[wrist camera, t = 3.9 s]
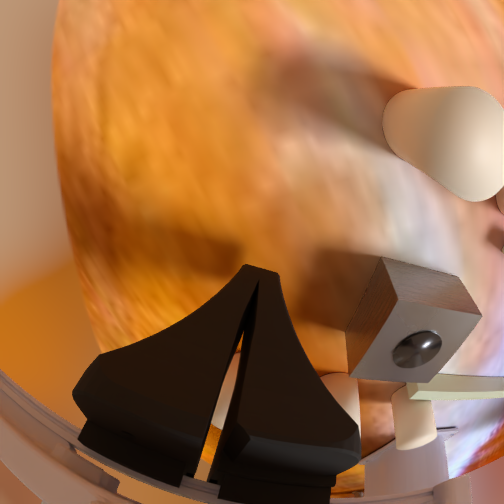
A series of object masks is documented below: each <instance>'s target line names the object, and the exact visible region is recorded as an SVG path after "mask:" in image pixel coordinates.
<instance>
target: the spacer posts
mask: <svg viewBox="0 0 504 504" xmlns="http://www.w3.org/2000/svg"><path fill="white" fill-rule="evenodd" d="M382 125H383V132H384V136H385V138H386V141H387V143H388V145H389V146H390V148H391V149H392V150H393V152H394V153H395V154H396V155H397V156H398V157H400V158H401V159H403V160H404V161H406V162H408V163H409V164H411V165H412V166H414V167H416V168H417V169H419V170H420V171H422V172H423V173H425V174H426V175H428V176H429V177H431V178H432V179H434V180H435V181H437V182H438V183H440V184H441V185H442V186H444V187H445V188H447V189H448V190H449V191H451V192H452V193H453V194H455V195H456V196H458V197H459V198H462V199H464V200H467V201H473V202H477V201H483V200H486V199H489V198H491V197H492V196H494V195H495V194H496V201H497V205H498V208H499V210H500V211H501V213H502V214H503V215H504V109H503V108H502V106H501V105H500V103H499V102H498V101H497V100H496V99H495V98H494V97H493V96H492V95H490V94H489V93H487V92H486V91H484V90H482V89H480V88H476V87H471V86H454V87H433V88H420V89H409V90H404V91H401V92H399V93H397V94H396V95H394V96H393V97H392V98H391V99H390V100H389V102H388V103H387V105H386V107H385V110H384V113H383V120H382ZM239 358H240V353H236V354H234V356H233V359H232V361H231V364H230V366H229V369H228V371H227V374H226V376H225V379H224V382H223V385H222V388H221V391H220V395H219V398H218V401H217V405H216V408H215V411H214V415H213V418H212V421H211V423H212V424H213V425H214V426H216V427H217V428H219V429H221V430H222V428H223V425H224V422H225V418H226V415H227V411H228V408H229V404H230V400H231V397H232V393H233V390H234V386H235V381H236V376H237V370H238V364H239ZM320 379H321V380H322V382H323V383H324V385H325V386H326V388H327V389H328V390H329V392H330V393H331V394H332V396H333V397H334V398H335V400H336V401H337V402H338V403H339V404H340V406H341V407H342V408H343V409H344V410H345V411H346V412H347V413H348V414H349V415H350V417H351V418H352V419H353V420H354V421H355V422H356V423H357V424H358V426H359V432H360V438H361V428H360V407H359V392H358V381H357V379H356V378H351V377H349V374H347V373H331V374H327V375H324V376H322V377H320ZM391 403H392V410H393V418H394V427H395V437H396V448H397V449H398V450H409V449H414V448H417V447H420V446H423V445H425V444H427V443H429V442H431V441H433V440H434V439H435V438H436V437H437V429H436V424H435V419H434V414H433V409H432V404H431V400H417V399H409V395H408V390H407V385H406V386H404V387H402V388H400V389H398V390H397V391H396V392H394V393H393V395H392V396H391Z"/></svg>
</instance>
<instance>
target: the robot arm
mask: <svg viewBox="0 0 504 504" xmlns="http://www.w3.org/2000/svg"><path fill="white" fill-rule="evenodd" d="M243 331H244V334H243ZM242 334H243V340H242V346H241V352H240V358H239V364H238V370H237V376H236V381H235V386H234V390H233V393H232V397H231V400H230V404H229V408H228V411H227V415H226V418H225V422H224V425H223V428H222V432H221V435H220V439H219V442H218V445H217V449H216V452H215V455H214V459H213V462H212V465H211V469H210V472H209V475H208V478H207V482H205V481H201V480H198V479H194V475H195V473H196V470H197V467H198V464H199V461H200V457H201V454H202V451H203V448H204V444H205V441H206V438H207V434H208V431H209V428H210V424H211V421H212V418H213V415H214V411H215V408H216V405H217V401H218V398H219V395H220V391H221V388H222V385H223V382H224V379H225V376H226V374H227V371H228V369H229V366H230V364H231V361H232V359H233V356H234V354H235V351H236V349H237V346H238V344H239V342H240V339H241V336H242ZM72 396H73V399H74V401H75V402H76V404H77V406H78V407H79V408H80V410H81V411H82V412H83V414H84V415H85V417H86V418H87V421H86V423H85V425H84V427H83V429H82V430H81V429H80V428H78V427H76V426H75V425H73V424H71V423H70V422H68V421H67V420H65V419H64V418H62V417H60V416H59V415H57V414H56V413H54V412H53V411H52V410H50V409H49V408H47V407H46V406H45V405H43V404H42V403H40V402H39V401H38V400H36V399H35V398H34V397H33V396H31V395H30V394H29V393H27V392H26V391H25V390H24V389H22V388H21V387H20V386H19V385H18V384H16V383H15V382H14V381H13V380H12V379H11V378H10V377H8V376H7V375H6V374H5V373H4V372H3V371H2V370H1V369H0V460H1V461H2V462H3V463H4V464H5V465H6V467H8V469H9V470H10V471H11V472H12V473H13V474H14V475H15V476H16V477H17V478H18V479H19V480H20V481H21V482H22V483H24V484H25V485H26V486H27V487H28V488H29V489H30V490H31V491H32V492H33V493H34V494H36V495H37V496H38V497H39V498H40V499H41V500H42V503H41V504H141V503H139V502H137V501H134V500H132V499H129V498H127V497H125V496H123V495H121V494H118V493H117V488H118V486H119V483H120V482H119V480H118V479H116V478H114V477H113V476H111V475H109V474H107V473H106V472H105V471H104V470H103V469H101V468H99V467H98V466H96V465H94V464H93V463H91V462H89V461H87V460H86V459H84V458H83V457H81V456H79V455H78V454H77V452H76V450H75V448H76V449H78V450H79V451H81V452H83V453H84V454H86V455H88V456H89V457H91V458H93V459H95V460H97V461H99V462H100V463H102V464H104V465H106V466H108V467H110V468H112V469H115V470H116V471H119V472H121V473H123V474H125V475H127V476H129V477H131V478H134V479H136V480H138V481H141V482H143V483H146V484H148V485H151V486H153V487H156V488H159V489H162V490H164V491H167V492H170V493H173V494H176V495H179V496H183V497H186V498H189V499H193V500H196V501H200V502H204V503H208V504H472V493H471V482H470V475H469V474H466V475H463V476H459V477H456V478H452V479H449V474H448V465H447V457H446V450H445V443H444V441H445V440H447V439H449V438H450V437H452V436H453V435H454V434H456V433H457V432H458V431H459V429H458V428H451V429H440V430H437V437H436V438H435V439H434V440H433V441H431V442H429V443H427V444H425V445H423V446H420V447H417V448H414V449H409V450H398V449H397V448H396V439H395V440H393V441H392V442H390V443H389V444H387V445H386V446H384V447H382V448H381V449H379V450H377V451H376V452H374V453H372V454H370V455H369V456H367V457H365V458H363V459H361V438H360V432H359V426H358V424H357V423H356V422H355V421H354V420H353V419H352V418H351V417H350V415H349V414H348V413H347V412H346V411H345V410H344V409H343V408H342V407H341V406H340V404H339V403H338V402H337V401H336V400H335V398H334V397H333V396H332V394H331V393H330V392H329V390H328V389H327V388H326V386H325V385H324V383H323V382H322V380H321V379H320V377H319V376H318V374H317V372H316V371H315V369H314V368H313V366H312V364H311V363H310V361H309V359H308V357H307V355H306V354H305V352H304V350H303V348H302V346H301V344H300V341H299V339H298V337H297V335H296V332H295V330H294V327H293V325H292V322H291V319H290V316H289V313H288V310H287V307H286V304H285V300H284V297H283V293H282V288H281V283H280V276H279V274H278V273H277V272H273V271H269V270H266V269H262V268H259V267H255V266H251V265H248V264H245V265H243V266H242V267H241V269H240V270H239V271H238V273H237V274H236V275H235V276H234V277H233V278H232V279H231V280H230V282H229V283H228V284H226V285H225V286H224V287H223V288H222V289H221V290H220V291H219V292H218V293H217V294H216V295H215V296H213V297H212V298H211V299H210V300H209V301H207V302H206V303H205V304H204V305H202V306H201V307H200V308H198V309H197V310H196V311H194V312H193V313H191V314H190V315H188V316H187V317H185V318H184V319H182V320H180V321H179V322H177V323H175V324H173V325H172V326H170V327H168V328H166V329H164V330H162V331H160V332H158V333H156V334H154V335H152V336H150V337H147V338H145V339H143V340H141V341H138V342H136V343H133V344H131V345H128V346H125V347H122V348H119V349H116V350H113V351H110V352H106V353H103V354H100V355H99V356H98V357H97V358H96V359H95V360H94V361H93V362H92V363H91V364H90V366H89V367H88V368H87V369H86V371H85V372H84V374H83V375H82V377H81V378H80V380H79V381H78V383H77V385H76V386H75V388H74V389H73V391H72ZM357 463H359V464H360V465H365V489H364V497H361V498H330V494H331V487H334V486H335V484H336V475H337V474H339V473H342V472H344V471H346V470H348V469H350V468H352V467H353V466H355V465H356V464H357Z"/></svg>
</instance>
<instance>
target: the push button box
mask: <svg viewBox="0 0 504 504" xmlns="http://www.w3.org/2000/svg"><path fill="white" fill-rule="evenodd" d="M481 317H482V314H481V313H480V311H479V309H478V307H477V306H476V304H475V302H474V301H473V299H472V297H471V296H470V294H469V293H468V291H467V289H466V288H465V286H464V285H463V283H462V282H461V280H460V279H459V277H457V276H453V275H450V274H446V273H442V272H439V271H435V270H431V269H427V268H424V267H420V266H416V265H412V264H409V263H405V262H401V261H397V260H393V259H389V258H385V257H381V259H380V261H379V263H378V266H377V268H376V270H375V272H374V275H373V277H372V279H371V281H370V283H369V285H368V288H367V290H366V292H365V294H364V296H363V298H362V300H361V302H360V304H359V306H358V308H357V310H356V312H355V314H354V316H353V318H352V320H351V322H350V323H349V325H348V327H347V329H346V331H345V337H346V348H347V360H348V374H349V377H351V378H360V379H369V380H380V381H393V382H410V383H429V382H430V381H431V380H432V378H433V377H434V376H435V375H436V374H437V373H438V372H439V371H440V370H441V369H442V367H443V366H444V365H445V364H446V363H447V362H448V361H449V359H450V358H451V357H452V356H453V355H454V353H455V352H456V351H457V350H458V348H459V347H460V346H461V345H462V343H463V342H464V341H465V340H466V338H467V337H468V336H469V334H470V333H471V332H472V330H473V329H474V327H475V326H476V325H477V323H478V322H479V320H480V319H481Z"/></svg>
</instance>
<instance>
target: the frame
mask: <svg viewBox="0 0 504 504" xmlns="http://www.w3.org/2000/svg"><path fill="white" fill-rule="evenodd" d="M501 251H502V252H503V253H504V247H503V249H502V250H501ZM406 385H407V390H408V395H409V399H417V400H474V399H491V398H502V397H504V377H477V376H458V375H445V374H436V375H435V376H434V377H433V378H432V380H431V381H430V382H429V383H410V382H406Z"/></svg>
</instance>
